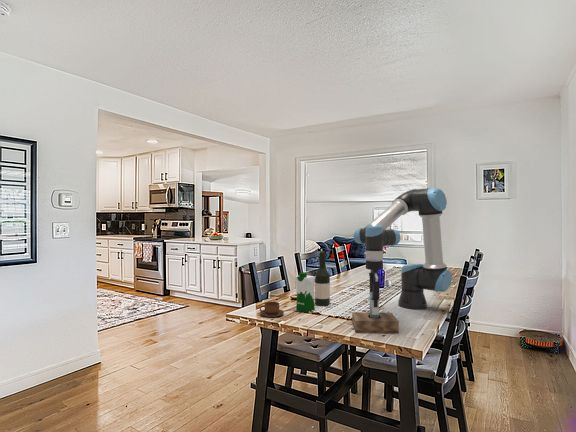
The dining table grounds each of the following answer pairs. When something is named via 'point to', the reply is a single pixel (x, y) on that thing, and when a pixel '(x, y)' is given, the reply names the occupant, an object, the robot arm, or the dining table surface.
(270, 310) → the cup and saucer
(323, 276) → the wine bottle
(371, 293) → the pin
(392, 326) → the block
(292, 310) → the dining table surface
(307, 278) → the milk carton
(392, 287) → the dining table surface
